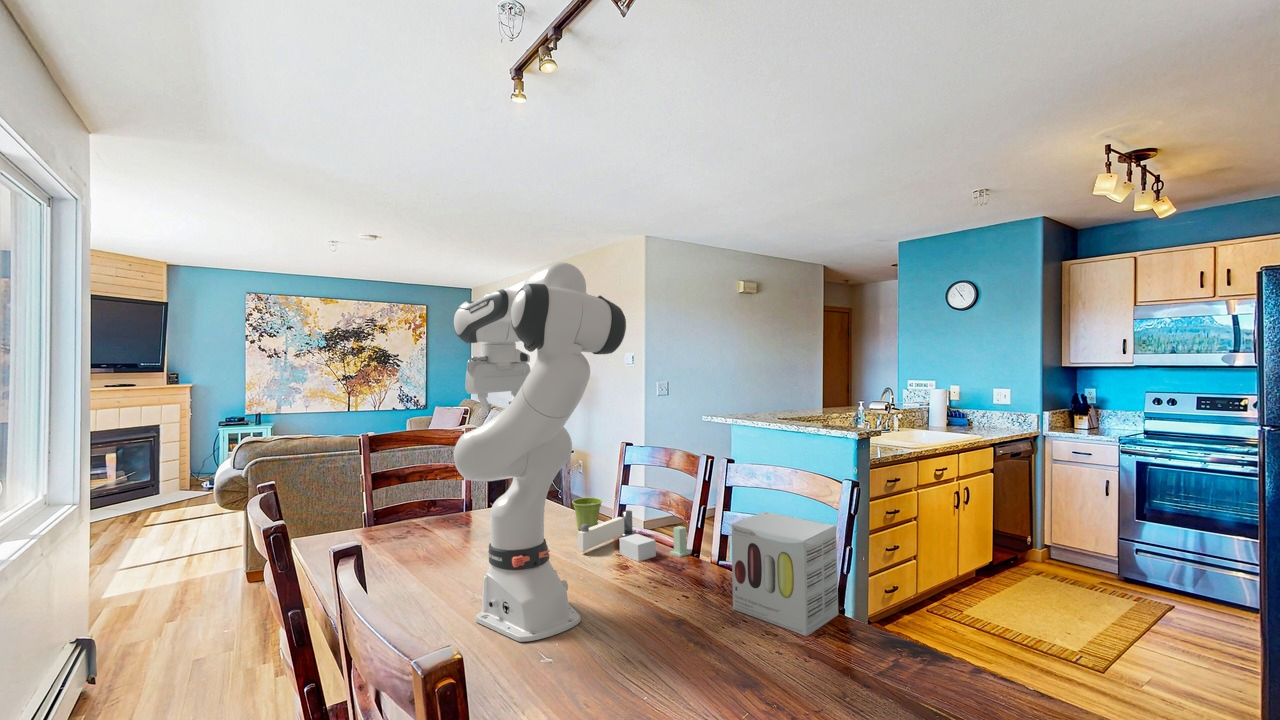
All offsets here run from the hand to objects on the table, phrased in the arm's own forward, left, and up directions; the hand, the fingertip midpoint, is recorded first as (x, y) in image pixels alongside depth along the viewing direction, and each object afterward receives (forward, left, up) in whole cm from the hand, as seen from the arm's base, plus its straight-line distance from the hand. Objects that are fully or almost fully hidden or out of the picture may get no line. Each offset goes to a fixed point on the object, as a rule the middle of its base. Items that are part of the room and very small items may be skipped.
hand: (500, 409), depth 151 cm
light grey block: (-18, -30, -40) cm, 53 cm away
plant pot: (+12, -34, -40) cm, 54 cm away
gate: (-5, -28, -39) cm, 48 cm away
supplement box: (-66, -30, -40) cm, 83 cm away
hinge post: (-2, -39, -40) cm, 56 cm away
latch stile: (-25, -39, -40) cm, 61 cm away
